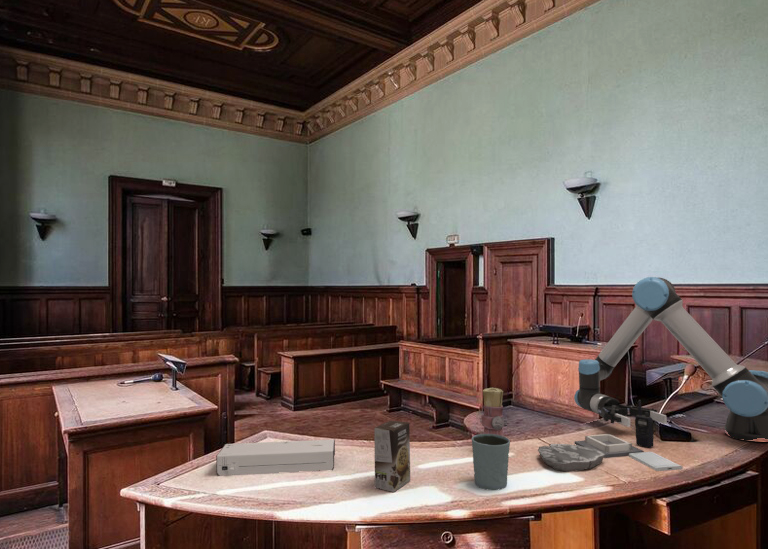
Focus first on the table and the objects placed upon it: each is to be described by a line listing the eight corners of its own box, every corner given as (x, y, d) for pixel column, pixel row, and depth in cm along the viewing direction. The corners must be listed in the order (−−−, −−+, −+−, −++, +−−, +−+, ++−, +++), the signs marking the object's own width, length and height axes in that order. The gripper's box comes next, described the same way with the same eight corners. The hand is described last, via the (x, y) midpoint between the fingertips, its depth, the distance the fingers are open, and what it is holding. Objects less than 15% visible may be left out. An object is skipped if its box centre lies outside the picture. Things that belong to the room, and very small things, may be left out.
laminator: (335, 458, 155) (334, 439, 155) (334, 473, 142) (333, 451, 143) (225, 463, 152) (225, 443, 152) (215, 478, 140) (215, 457, 140)
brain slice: (568, 449, 159) (568, 440, 159) (614, 465, 144) (613, 455, 144) (522, 459, 150) (522, 450, 151) (565, 478, 135) (565, 467, 135)
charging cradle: (614, 440, 166) (613, 431, 166) (643, 454, 153) (643, 444, 153) (574, 444, 163) (574, 435, 163) (601, 458, 150) (600, 448, 150)
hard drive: (628, 453, 151) (656, 467, 138) (652, 451, 152) (682, 465, 140) (628, 458, 151) (656, 473, 138) (652, 456, 152) (682, 471, 140)
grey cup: (470, 476, 137) (469, 433, 137) (506, 476, 137) (505, 433, 137) (475, 491, 127) (474, 445, 127) (514, 491, 126) (513, 444, 127)
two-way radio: (634, 445, 161) (632, 399, 162) (639, 442, 164) (638, 397, 165) (651, 449, 157) (650, 402, 158) (657, 446, 160) (655, 400, 161)
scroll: (480, 455, 154) (479, 391, 155) (480, 447, 162) (478, 387, 162) (505, 456, 153) (503, 392, 154) (503, 448, 160) (502, 387, 161)
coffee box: (394, 493, 127) (393, 430, 127) (374, 488, 130) (373, 427, 131) (411, 481, 134) (410, 422, 135) (391, 476, 138) (390, 419, 138)
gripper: (635, 414, 183) (680, 429, 162) (575, 418, 178) (614, 435, 157) (635, 394, 183) (679, 407, 162) (575, 398, 178) (613, 412, 157)
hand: (647, 421), depth 159 cm, fingers open, 13 cm apart
